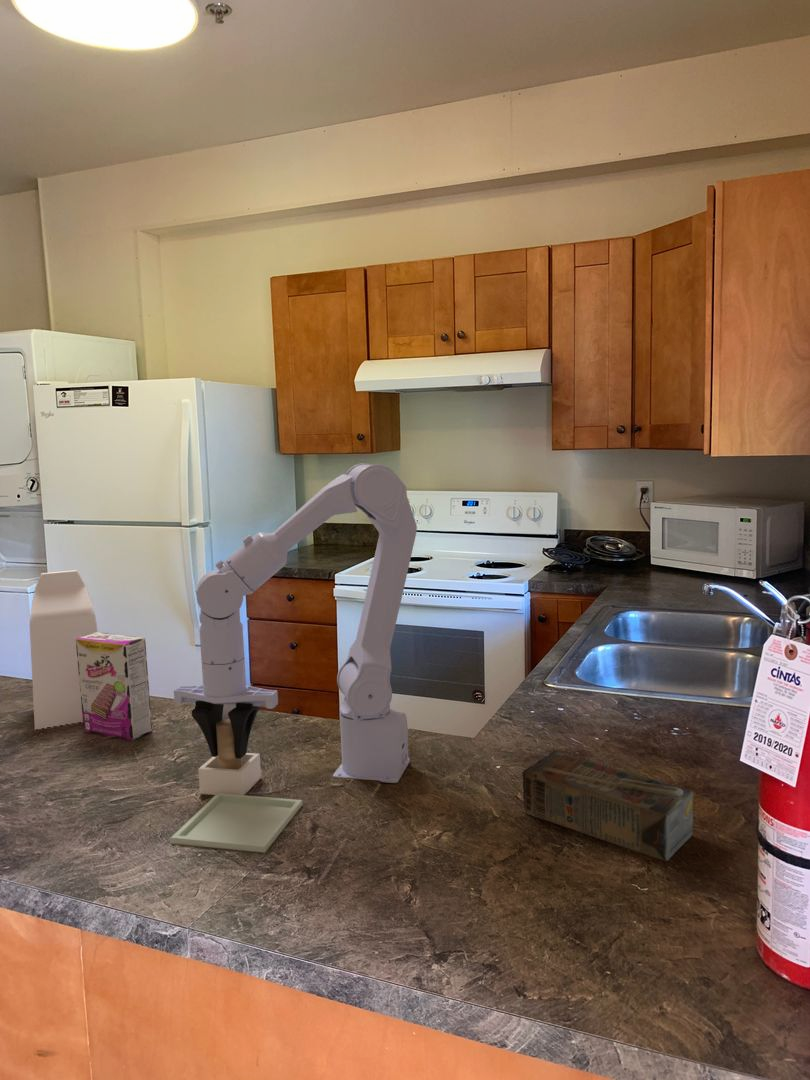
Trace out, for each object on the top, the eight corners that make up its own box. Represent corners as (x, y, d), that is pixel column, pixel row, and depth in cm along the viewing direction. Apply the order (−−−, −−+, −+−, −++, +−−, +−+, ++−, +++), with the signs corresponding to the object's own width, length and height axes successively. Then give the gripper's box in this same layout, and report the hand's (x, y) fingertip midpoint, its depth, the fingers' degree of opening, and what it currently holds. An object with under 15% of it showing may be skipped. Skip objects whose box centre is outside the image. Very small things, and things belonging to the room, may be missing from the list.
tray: (302, 808, 103) (301, 800, 103) (265, 856, 91) (264, 846, 91) (218, 801, 106) (217, 793, 105) (171, 847, 94) (170, 837, 94)
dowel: (245, 781, 110) (241, 719, 109) (236, 790, 108) (232, 727, 106) (226, 779, 111) (222, 718, 110) (216, 789, 108) (211, 726, 107)
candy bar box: (81, 733, 133) (73, 638, 131) (104, 723, 137) (96, 631, 135) (132, 742, 128) (124, 643, 126) (154, 731, 133) (146, 636, 130)
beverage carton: (666, 866, 87) (667, 809, 86) (519, 816, 100) (518, 766, 99) (695, 837, 93) (695, 784, 92) (552, 793, 105) (551, 746, 105)
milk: (34, 730, 135) (20, 580, 132) (35, 709, 146) (22, 570, 142) (109, 718, 140) (97, 573, 137) (105, 699, 150) (93, 564, 147)
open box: (261, 780, 112) (259, 753, 111) (242, 800, 106) (240, 771, 105) (221, 777, 113) (219, 750, 113) (200, 796, 107) (198, 768, 107)
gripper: (284, 652, 109) (289, 746, 111) (189, 649, 113) (195, 740, 114) (263, 667, 102) (269, 767, 104) (163, 663, 106) (170, 760, 108)
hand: (229, 754), depth 109 cm, fingers closed on dowel, 3 cm apart
